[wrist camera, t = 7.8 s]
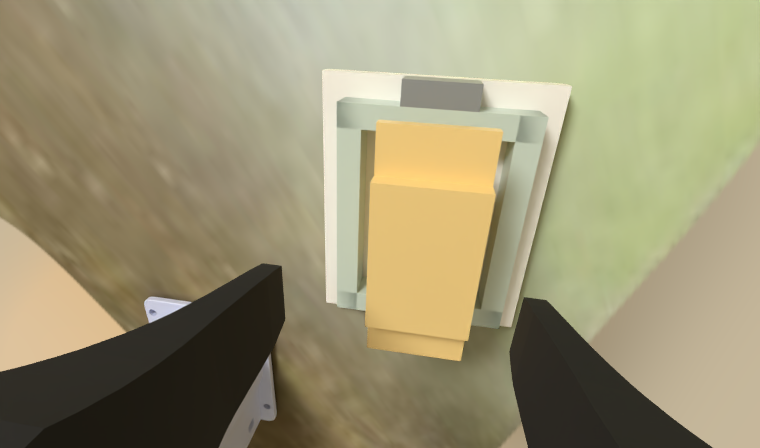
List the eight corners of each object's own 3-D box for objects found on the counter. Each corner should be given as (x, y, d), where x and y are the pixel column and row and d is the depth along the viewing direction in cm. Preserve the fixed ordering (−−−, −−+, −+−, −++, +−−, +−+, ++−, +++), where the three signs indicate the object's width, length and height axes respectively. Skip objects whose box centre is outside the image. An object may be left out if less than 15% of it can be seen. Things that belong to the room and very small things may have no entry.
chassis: (508, 315, 21) (515, 347, 19) (331, 291, 22) (318, 319, 20) (564, 83, 16) (584, 90, 13) (328, 68, 17) (311, 72, 15)
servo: (457, 300, 20) (461, 375, 15) (381, 290, 20) (363, 360, 16) (489, 110, 16) (507, 137, 11) (392, 103, 16) (372, 126, 12)
